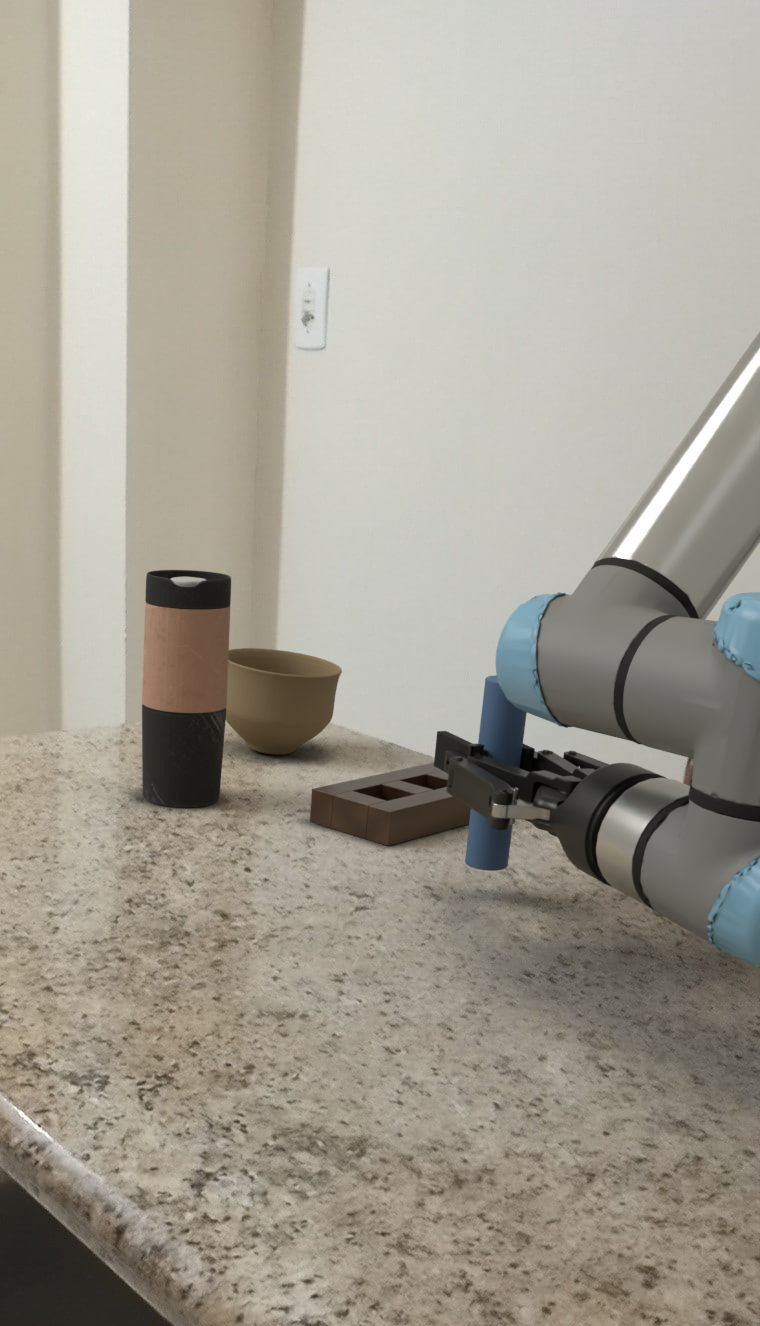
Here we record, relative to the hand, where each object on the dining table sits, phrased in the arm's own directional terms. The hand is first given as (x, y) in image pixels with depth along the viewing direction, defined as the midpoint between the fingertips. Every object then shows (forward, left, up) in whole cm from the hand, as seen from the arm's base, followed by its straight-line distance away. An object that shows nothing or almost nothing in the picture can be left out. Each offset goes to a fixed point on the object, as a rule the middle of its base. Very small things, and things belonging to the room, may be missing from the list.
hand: (462, 747), depth 106 cm
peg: (-5, +2, -8) cm, 9 cm away
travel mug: (+29, +2, -10) cm, 31 cm away
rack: (+12, -13, -10) cm, 20 cm away
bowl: (+37, -19, -10) cm, 43 cm away
